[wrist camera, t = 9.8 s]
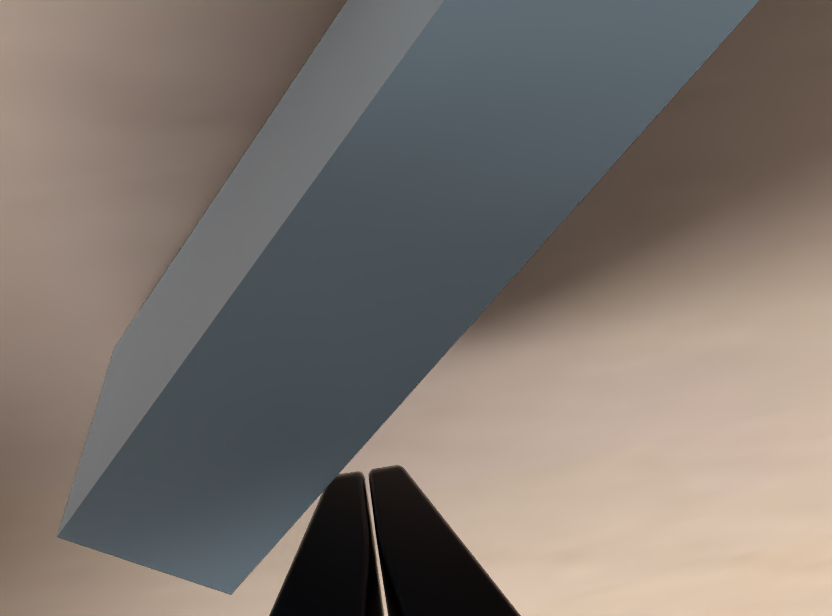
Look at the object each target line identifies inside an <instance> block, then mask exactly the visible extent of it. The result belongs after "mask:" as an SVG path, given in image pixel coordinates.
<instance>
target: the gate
mask: <svg viewBox="0 0 832 616" xmlns="http://www.w3.org/2000/svg"><path fill="white" fill-rule="evenodd" d="M758 1H759V0H347V1H346V3H345V4H344V6H343V7H342V9H341V10H340V12H339V13H338V15H337V16H336V18H335V19H334V21H333V22H332V24H331V25H330V27H329V28H328V30H327V31H326V33H325V34H324V36H323V37H322V39H321V40H320V42H319V43H318V45H317V46H316V48H315V49H314V51H313V52H312V53H311V55H310V56H309V58H308V59H307V61H306V62H305V64H304V65H303V67H302V68H301V70H300V71H299V73H298V74H297V76H296V77H295V79H294V80H293V82H292V83H291V85H290V86H289V88H288V89H287V91H286V92H285V94H284V95H283V97H282V98H281V100H280V101H279V103H278V104H277V106H276V107H275V109H274V110H273V112H272V113H271V115H270V116H269V118H268V119H267V121H266V122H265V124H264V125H263V127H262V128H261V130H260V131H259V133H258V134H257V136H256V137H255V139H254V140H253V142H252V143H251V145H250V146H249V148H248V149H247V151H246V152H245V154H244V155H243V157H242V158H241V159H240V161H239V162H238V164H237V165H236V167H235V168H234V170H233V171H232V173H231V174H230V176H229V177H228V179H227V180H226V182H225V183H224V185H223V186H222V188H221V189H220V191H219V192H218V194H217V195H216V197H215V198H214V200H213V201H212V203H211V204H210V206H209V207H208V209H207V210H206V212H205V213H204V215H203V216H202V218H201V219H200V221H199V222H198V224H197V225H196V227H195V228H194V230H193V231H192V233H191V234H190V236H189V237H188V239H187V240H186V242H185V243H184V245H183V246H182V248H181V249H180V251H179V252H178V254H177V255H176V257H175V258H174V260H173V261H172V262H171V264H170V265H169V267H168V268H167V270H166V271H165V273H164V274H163V276H162V277H161V279H160V280H159V282H158V283H157V285H156V286H155V288H154V289H153V291H152V292H151V294H150V295H149V297H148V298H147V300H146V301H145V303H144V304H143V306H142V307H141V309H140V310H139V312H138V313H137V315H136V316H135V318H134V319H133V321H132V322H131V324H130V325H129V327H128V328H127V330H126V331H125V333H124V334H123V336H122V337H121V339H120V340H119V342H118V343H117V345H116V346H115V348H114V351H113V354H112V357H111V361H110V364H109V367H108V371H107V374H106V377H105V380H104V384H103V387H102V390H101V394H100V397H99V400H98V403H97V407H96V410H95V413H94V417H93V420H92V423H91V426H90V430H89V433H88V436H87V440H86V443H85V446H84V449H83V453H82V456H81V459H80V463H79V466H78V469H77V472H76V476H75V479H74V482H73V486H72V489H71V492H70V495H69V499H68V502H67V505H66V509H65V512H64V515H63V518H62V522H61V525H60V528H59V532H58V535H57V537H58V538H61V539H64V540H67V541H70V542H73V543H76V544H79V545H82V546H85V547H88V548H91V549H94V550H97V551H100V552H103V553H106V554H110V555H113V556H116V557H119V558H122V559H125V560H128V561H131V562H134V563H137V564H140V565H143V566H146V567H149V568H152V569H155V570H158V571H161V572H164V573H167V574H170V575H173V576H176V577H179V578H182V579H185V580H188V581H191V582H194V583H197V584H200V585H203V586H206V587H209V588H212V589H215V590H218V591H221V592H224V593H227V594H230V595H231V594H232V593H233V592H234V591H235V590H236V589H237V587H238V586H239V585H240V584H241V583H242V582H243V581H244V580H245V578H246V577H247V576H248V575H249V574H250V573H251V572H252V571H253V569H254V568H255V567H256V566H257V565H258V564H259V563H260V562H261V560H262V559H263V558H264V557H265V556H266V555H267V554H268V553H269V551H270V550H271V549H272V548H273V547H274V546H275V545H276V544H277V542H278V541H279V540H280V539H281V538H282V537H283V536H284V535H285V533H286V532H287V531H288V530H289V529H290V528H291V527H292V526H293V524H294V523H295V522H296V521H297V520H298V519H299V518H300V517H301V515H302V514H303V513H304V512H305V511H306V510H307V509H308V508H309V506H310V505H311V504H312V503H313V502H314V501H315V500H316V499H317V497H318V496H319V495H320V494H321V493H322V492H323V491H324V490H325V488H326V487H327V486H328V485H329V484H330V483H331V482H332V481H333V479H334V478H335V477H336V476H337V475H338V474H339V473H340V472H341V470H342V469H343V468H344V467H345V466H346V465H347V464H348V463H349V461H350V460H351V459H352V458H353V457H354V456H355V455H356V454H357V452H358V451H359V450H360V449H361V448H362V447H363V446H364V445H365V443H366V442H367V441H368V440H369V439H370V438H371V437H372V436H373V434H374V433H375V432H376V431H377V430H378V429H379V428H380V427H381V425H382V424H383V423H384V422H385V421H386V420H387V419H388V418H389V416H390V415H391V414H392V413H393V412H394V411H395V410H396V409H397V407H398V406H399V405H400V404H401V403H402V402H403V401H404V400H405V398H406V397H407V396H408V395H409V394H410V393H411V392H412V391H413V389H414V388H415V387H416V386H417V385H418V384H419V383H420V382H421V380H422V379H423V378H424V377H425V376H426V375H427V374H428V373H429V371H430V370H431V369H432V368H433V367H434V366H435V365H436V364H437V362H438V361H439V360H440V359H441V358H442V357H443V356H444V355H445V353H446V352H447V351H448V350H449V349H450V348H451V347H452V346H453V344H454V343H455V342H456V341H457V340H458V339H459V338H460V337H461V335H462V334H463V333H464V332H465V331H466V330H467V329H468V328H469V326H470V325H471V324H472V323H473V322H474V321H475V320H476V319H477V317H478V316H479V315H480V314H481V313H482V312H483V311H484V310H485V308H486V307H487V306H488V305H489V304H490V303H491V302H492V301H493V299H494V298H495V297H496V296H497V295H498V294H499V293H500V292H501V290H502V289H503V288H504V287H505V286H506V285H507V284H508V283H509V281H510V280H511V279H512V278H513V277H514V276H515V275H516V274H517V272H518V271H519V270H520V269H521V268H522V267H523V266H524V265H525V263H526V262H527V261H528V260H529V259H530V258H531V257H532V256H533V254H534V253H535V252H536V251H537V250H538V249H539V248H540V247H541V245H542V244H543V243H544V242H545V241H546V240H547V239H548V238H549V236H550V235H551V234H552V233H553V232H554V231H555V230H556V229H557V227H558V226H559V225H560V224H561V223H562V222H563V221H564V220H565V218H566V217H567V216H568V215H569V214H570V213H571V212H572V211H573V209H574V208H575V207H576V206H577V205H578V204H579V203H580V202H581V200H582V199H583V198H584V197H585V196H586V195H587V194H588V193H589V191H590V190H591V189H592V188H593V187H594V186H595V185H596V184H597V182H598V181H599V180H600V179H601V178H602V177H603V176H604V175H605V173H606V172H607V171H608V170H609V169H610V168H611V167H612V166H613V164H614V163H615V162H616V161H617V160H618V159H619V158H620V157H621V155H622V154H623V153H624V152H625V151H626V150H627V149H628V148H629V146H630V145H631V144H632V143H633V142H634V141H635V140H636V139H637V137H638V136H639V135H640V134H641V133H642V132H643V131H644V130H645V128H646V127H647V126H648V125H649V124H650V123H651V122H652V121H653V119H654V118H655V117H656V116H657V115H658V114H659V113H660V112H661V110H662V109H663V108H664V107H665V106H666V105H667V104H668V103H669V101H670V100H671V99H672V98H673V97H674V96H675V95H676V94H677V92H678V91H679V90H680V89H681V88H682V87H683V86H684V85H685V84H686V82H687V81H688V80H689V79H690V78H691V77H692V76H693V75H694V73H695V72H696V71H697V70H698V69H699V68H700V67H701V66H702V64H703V63H704V62H705V61H706V60H707V59H708V58H709V57H710V55H711V54H712V53H713V52H714V51H715V50H716V49H717V48H718V46H719V45H720V44H721V43H722V42H723V41H724V40H725V39H726V37H727V36H728V35H729V34H730V33H731V32H732V31H733V30H734V28H735V27H736V26H737V25H738V24H739V23H740V22H741V21H742V19H743V18H744V17H745V16H746V15H747V14H748V13H749V12H750V10H751V9H752V8H753V7H754V6H755V5H756V4H757V3H758Z"/></svg>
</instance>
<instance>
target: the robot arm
mask: <svg viewBox="0 0 832 616" xmlns="http://www.w3.org/2000/svg"><path fill="white" fill-rule="evenodd" d="M369 483H370V491H371V499H372V507H373V515H374V523H375V531H376V538H377V545H378V551H379V558H380V564H381V571H382V577H383V584H384V590H385V597H386V603H387V610H388V616H521V615H520V614H519V613H518V612H517V610H516V609H515V608H514V607H513V605H512V604H511V603H510V602H509V600H508V599H507V598H506V597H505V595H504V594H503V593H502V591H501V590H500V589H499V588H498V586H497V585H496V584H495V583H494V581H493V580H492V579H491V578H490V576H489V575H488V574H487V573H486V571H485V570H484V569H483V567H482V566H481V565H480V564H479V562H478V561H477V560H476V559H475V557H474V556H473V555H472V554H471V552H470V551H469V550H468V549H467V547H466V546H465V545H464V543H463V542H462V541H461V540H460V538H459V537H458V536H457V535H456V533H455V532H454V531H453V530H452V528H451V527H450V526H449V525H448V523H447V522H446V521H445V519H444V518H443V517H442V516H441V514H440V513H439V512H438V511H437V509H436V508H435V507H434V506H433V504H432V503H431V502H430V501H429V499H428V498H427V497H426V495H425V494H424V493H423V492H422V490H421V489H420V488H419V487H418V485H417V484H416V483H415V482H414V480H413V479H412V478H411V477H410V475H409V474H408V473H407V471H406V470H405V469H404V468H403V467H402V466H399V465H395V466H389V467H382V468H376V469H372V470H371V471H370V472H369ZM269 616H384V610H383V603H382V595H381V588H380V581H379V573H378V566H377V558H376V551H375V543H374V536H373V529H372V522H371V515H370V509H369V502H368V496H367V490H366V483H365V477H364V475H363V473H362V472H351V473H345V474H339V475H337V476H336V477H335V478H334V479H333V481H332V482H331V483H330V484H329V485H328V486H327V487H326V488H325V490H324V491H323V493H322V495H321V498H320V500H319V502H318V505H317V507H316V509H315V511H314V514H313V516H312V518H311V521H310V523H309V525H308V528H307V530H306V532H305V534H304V537H303V539H302V541H301V544H300V546H299V548H298V551H297V553H296V555H295V557H294V560H293V562H292V564H291V567H290V569H289V571H288V574H287V576H286V578H285V580H284V583H283V585H282V587H281V590H280V592H279V594H278V597H277V599H276V601H275V604H274V606H273V608H272V610H271V613H270V615H269Z"/></svg>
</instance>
